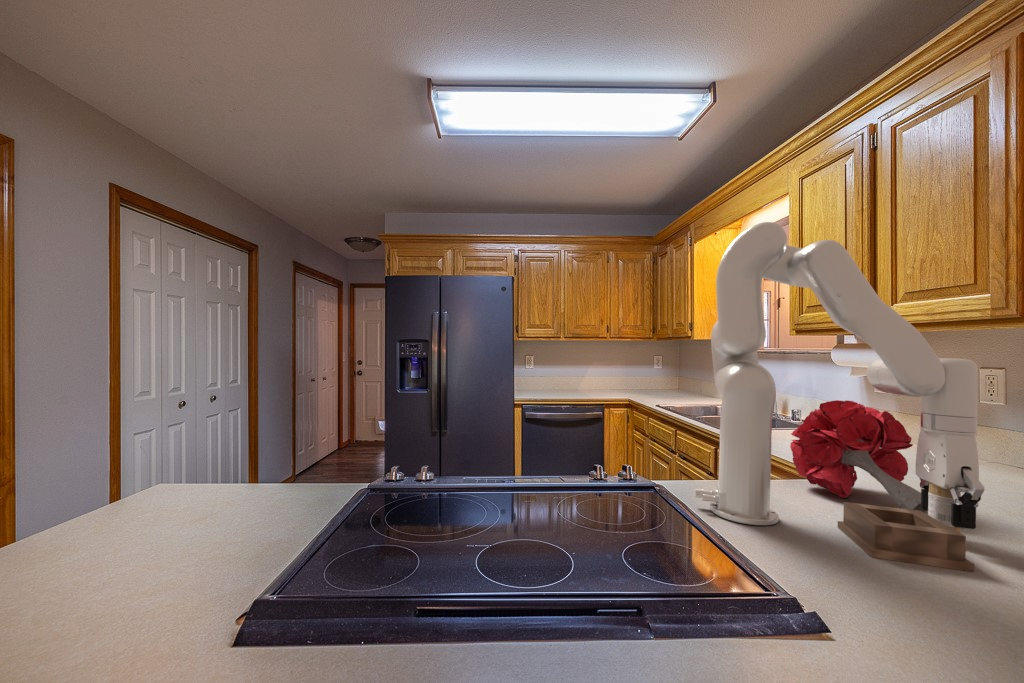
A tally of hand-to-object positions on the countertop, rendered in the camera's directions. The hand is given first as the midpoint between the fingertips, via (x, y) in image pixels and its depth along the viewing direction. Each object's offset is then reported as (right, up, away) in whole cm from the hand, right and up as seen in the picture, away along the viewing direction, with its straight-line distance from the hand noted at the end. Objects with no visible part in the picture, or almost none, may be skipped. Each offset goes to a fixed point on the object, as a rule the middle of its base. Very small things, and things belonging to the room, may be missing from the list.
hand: (946, 518), depth 82 cm
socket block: (-12, -4, -4) cm, 13 cm away
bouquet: (+2, -5, +24) cm, 25 cm away
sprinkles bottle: (-1, -4, 0) cm, 4 cm away
